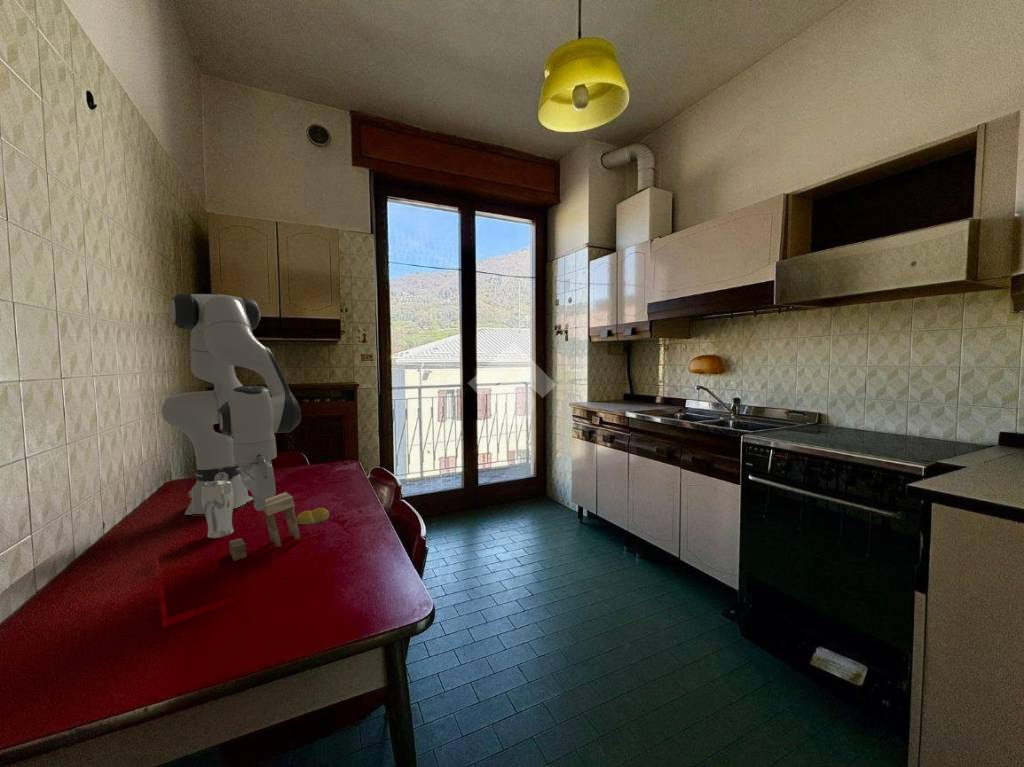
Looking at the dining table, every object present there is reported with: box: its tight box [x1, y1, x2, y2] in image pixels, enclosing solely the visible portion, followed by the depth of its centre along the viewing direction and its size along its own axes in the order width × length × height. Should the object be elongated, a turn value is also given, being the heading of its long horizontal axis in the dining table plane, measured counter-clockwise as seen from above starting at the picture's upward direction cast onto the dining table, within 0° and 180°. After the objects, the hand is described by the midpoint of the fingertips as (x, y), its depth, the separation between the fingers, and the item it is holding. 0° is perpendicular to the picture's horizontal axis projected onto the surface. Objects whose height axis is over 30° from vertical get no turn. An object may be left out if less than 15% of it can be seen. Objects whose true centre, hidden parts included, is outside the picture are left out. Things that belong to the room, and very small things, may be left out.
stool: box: [262, 491, 301, 549], centre depth 104 cm, size 6×6×11 cm
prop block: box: [228, 537, 247, 561], centre depth 98 cm, size 5×2×3 cm, turn 43°
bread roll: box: [296, 507, 330, 525], centre depth 120 cm, size 8×9×4 cm
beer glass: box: [202, 479, 235, 539], centre depth 112 cm, size 7×7×15 cm
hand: (259, 509), depth 100 cm, fingers closed, pressing on stool
